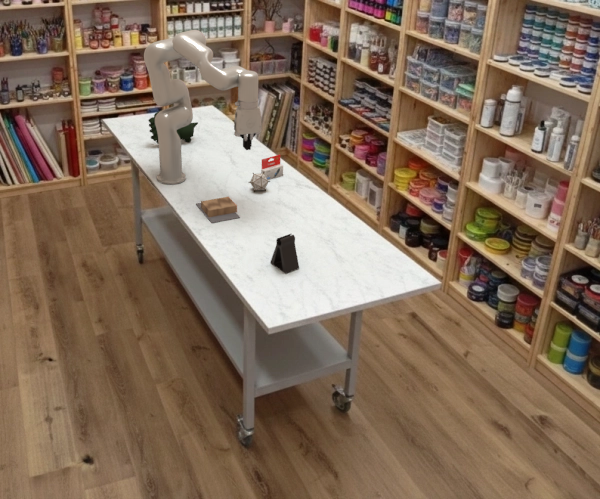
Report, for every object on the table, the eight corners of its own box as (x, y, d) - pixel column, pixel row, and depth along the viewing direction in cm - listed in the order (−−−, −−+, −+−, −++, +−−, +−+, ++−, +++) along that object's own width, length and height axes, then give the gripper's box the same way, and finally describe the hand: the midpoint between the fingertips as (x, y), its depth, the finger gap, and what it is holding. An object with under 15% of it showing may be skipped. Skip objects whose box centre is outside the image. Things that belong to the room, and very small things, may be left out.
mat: (195, 204, 289) (195, 203, 288) (223, 199, 294) (222, 198, 294) (211, 223, 275) (211, 222, 275) (240, 218, 280) (240, 217, 280)
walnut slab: (228, 203, 290) (201, 207, 285) (228, 196, 289) (201, 201, 284) (237, 212, 284) (209, 217, 278) (237, 205, 282) (209, 210, 277)
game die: (261, 199, 304) (266, 188, 295) (244, 190, 304) (247, 179, 295) (270, 183, 308) (274, 172, 299) (252, 175, 308) (256, 163, 299)
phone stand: (270, 263, 251) (271, 233, 245) (283, 258, 254) (284, 229, 248) (285, 273, 245) (287, 244, 239) (299, 268, 248) (300, 239, 243)
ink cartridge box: (283, 175, 318) (284, 155, 314) (264, 181, 312) (264, 161, 307) (279, 174, 320) (280, 154, 315) (260, 179, 313) (261, 159, 309)
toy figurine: (158, 154, 337) (204, 141, 349) (152, 117, 327) (200, 105, 338) (149, 148, 344) (195, 135, 355) (144, 111, 333) (191, 99, 345)
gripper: (233, 109, 263) (233, 154, 272) (269, 105, 269) (268, 149, 278) (226, 102, 268) (225, 147, 277) (261, 99, 275) (260, 143, 284)
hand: (247, 148), depth 278 cm, fingers closed
